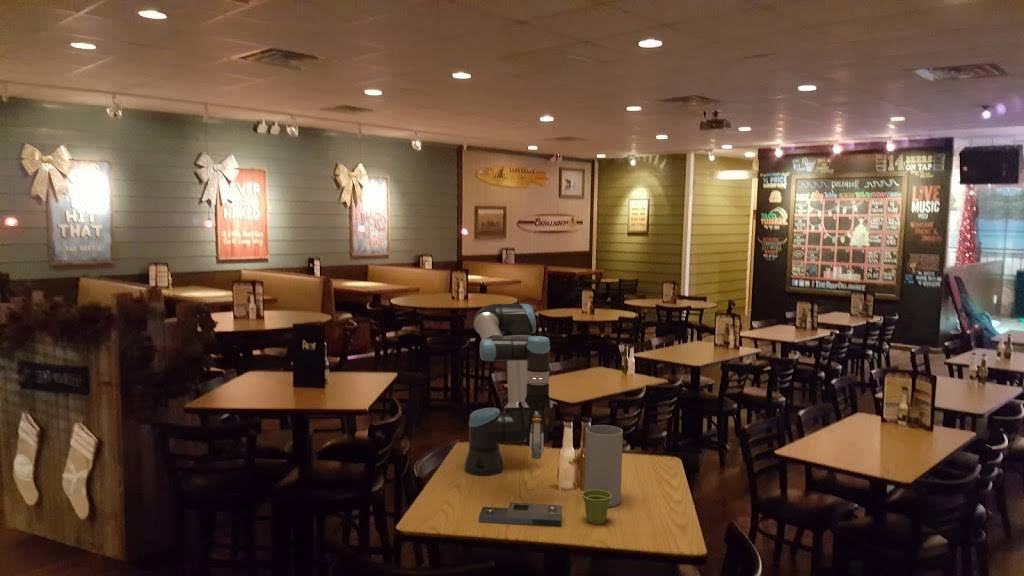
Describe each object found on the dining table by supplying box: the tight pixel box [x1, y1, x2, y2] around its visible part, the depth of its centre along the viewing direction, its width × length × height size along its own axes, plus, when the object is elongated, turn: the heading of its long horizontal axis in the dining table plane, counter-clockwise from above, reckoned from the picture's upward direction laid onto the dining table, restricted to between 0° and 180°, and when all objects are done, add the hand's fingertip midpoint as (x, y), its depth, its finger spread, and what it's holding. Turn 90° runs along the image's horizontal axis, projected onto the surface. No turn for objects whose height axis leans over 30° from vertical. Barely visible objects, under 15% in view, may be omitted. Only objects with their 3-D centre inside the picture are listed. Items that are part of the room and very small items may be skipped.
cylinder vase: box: [583, 424, 624, 508], centre depth 253 cm, size 12×12×25 cm
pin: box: [531, 414, 543, 460], centre depth 249 cm, size 4×4×14 cm
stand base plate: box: [478, 501, 563, 528], centre depth 237 cm, size 26×8×5 cm, turn 84°
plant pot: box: [581, 490, 612, 525], centre depth 237 cm, size 9×9×9 cm
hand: (536, 451), depth 249 cm, fingers closed on pin, 3 cm apart
